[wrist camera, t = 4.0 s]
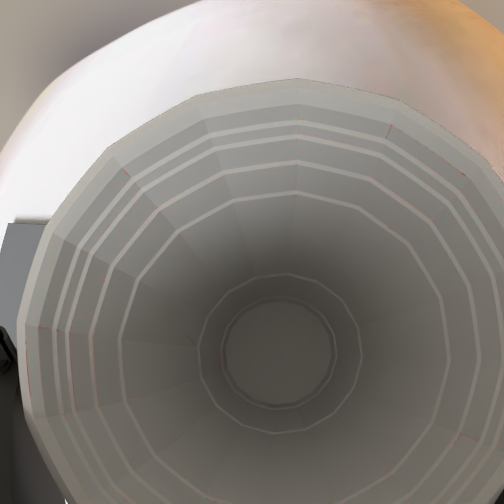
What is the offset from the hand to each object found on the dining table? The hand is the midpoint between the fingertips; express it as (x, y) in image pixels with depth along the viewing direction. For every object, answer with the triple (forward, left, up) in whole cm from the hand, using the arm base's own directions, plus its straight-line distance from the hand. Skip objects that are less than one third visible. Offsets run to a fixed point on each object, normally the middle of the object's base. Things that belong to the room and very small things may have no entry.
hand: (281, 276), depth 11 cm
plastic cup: (0, +3, -5) cm, 6 cm away
